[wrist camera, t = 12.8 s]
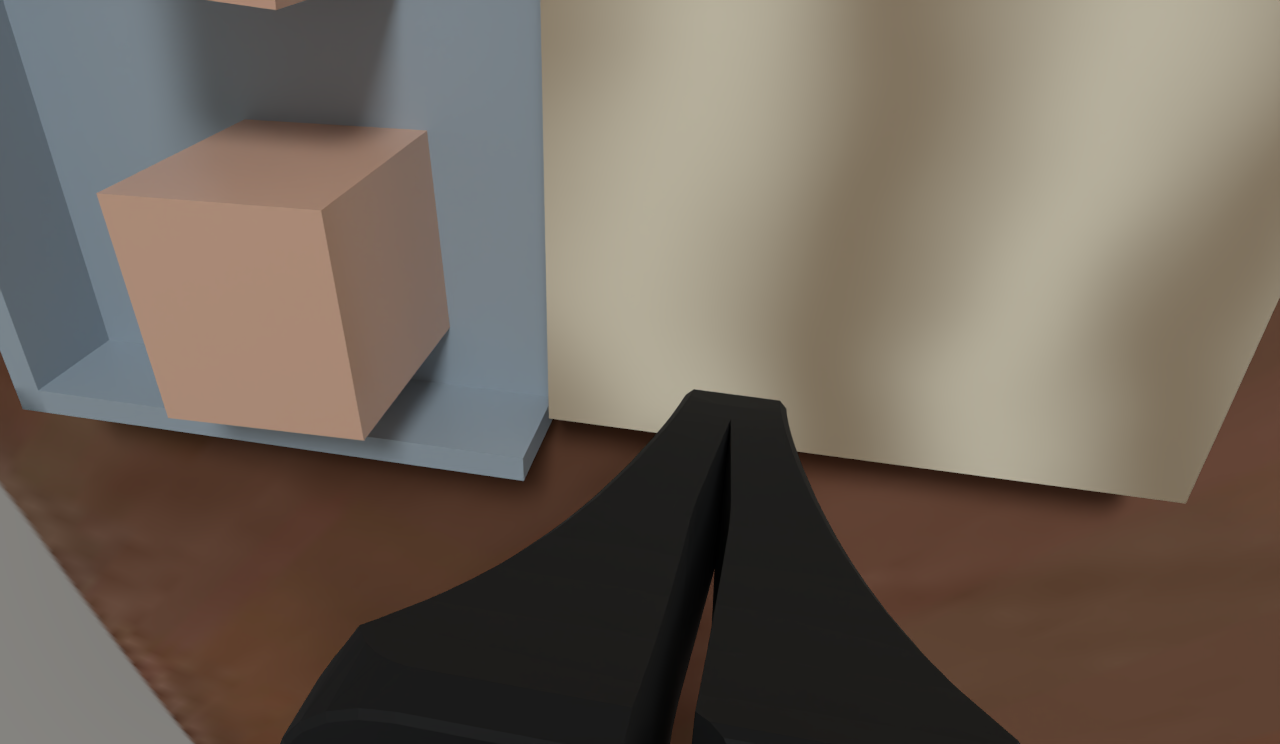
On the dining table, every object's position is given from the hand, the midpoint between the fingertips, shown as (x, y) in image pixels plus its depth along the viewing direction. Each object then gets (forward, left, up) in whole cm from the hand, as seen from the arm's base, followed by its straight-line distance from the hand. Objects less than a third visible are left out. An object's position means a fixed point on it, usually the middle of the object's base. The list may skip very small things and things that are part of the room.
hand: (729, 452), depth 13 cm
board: (-2, -4, -7) cm, 8 cm away
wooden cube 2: (+7, 0, -4) cm, 8 cm away
